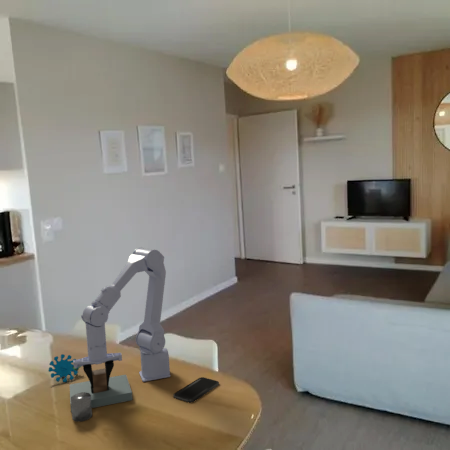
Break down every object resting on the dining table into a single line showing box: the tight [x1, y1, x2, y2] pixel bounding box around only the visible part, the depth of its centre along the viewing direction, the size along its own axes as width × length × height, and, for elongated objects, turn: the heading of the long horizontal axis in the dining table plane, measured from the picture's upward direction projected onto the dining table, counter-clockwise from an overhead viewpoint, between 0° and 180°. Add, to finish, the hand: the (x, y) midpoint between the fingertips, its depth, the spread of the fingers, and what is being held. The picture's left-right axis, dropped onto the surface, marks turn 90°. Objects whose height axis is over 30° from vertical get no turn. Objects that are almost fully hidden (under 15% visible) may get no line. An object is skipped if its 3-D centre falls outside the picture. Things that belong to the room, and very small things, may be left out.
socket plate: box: [69, 374, 133, 413], centre depth 146 cm, size 18×14×2 cm
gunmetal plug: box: [70, 392, 93, 423], centre depth 134 cm, size 6×6×6 cm
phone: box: [173, 376, 220, 404], centre depth 147 cm, size 8×1×15 cm
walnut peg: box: [92, 367, 107, 393], centre depth 146 cm, size 4×4×7 cm
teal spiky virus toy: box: [48, 353, 81, 383], centre depth 162 cm, size 11×6×10 cm
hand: (99, 385), depth 146 cm, fingers closed on walnut peg, 4 cm apart
